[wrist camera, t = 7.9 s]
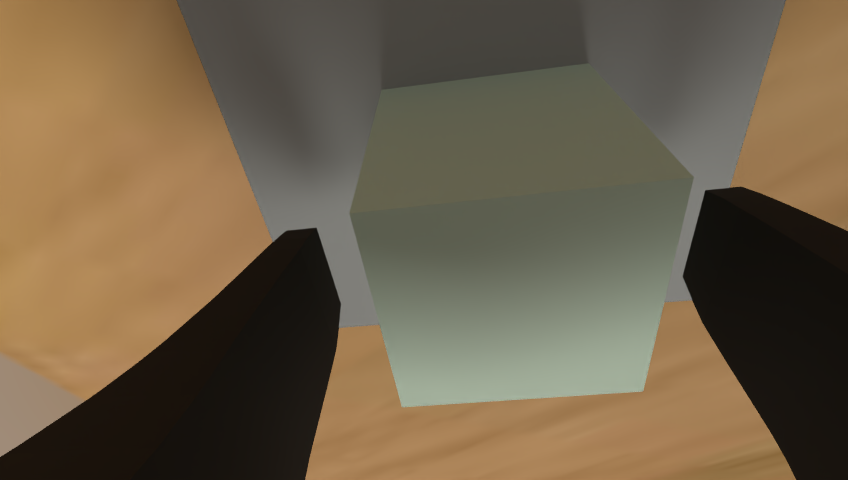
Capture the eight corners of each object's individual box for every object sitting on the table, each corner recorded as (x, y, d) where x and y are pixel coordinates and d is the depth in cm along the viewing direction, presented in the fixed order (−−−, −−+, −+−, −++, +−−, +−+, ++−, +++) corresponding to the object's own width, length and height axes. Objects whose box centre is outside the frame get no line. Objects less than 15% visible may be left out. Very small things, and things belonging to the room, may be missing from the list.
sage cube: (588, 62, 10) (693, 177, 6) (576, 232, 13) (643, 392, 9) (381, 89, 10) (349, 213, 6) (411, 248, 13) (402, 407, 9)
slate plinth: (756, -114, 10) (820, -115, 8) (668, 257, 16) (696, 299, 14) (208, -32, 11) (169, -19, 9) (320, 288, 17) (308, 330, 15)
